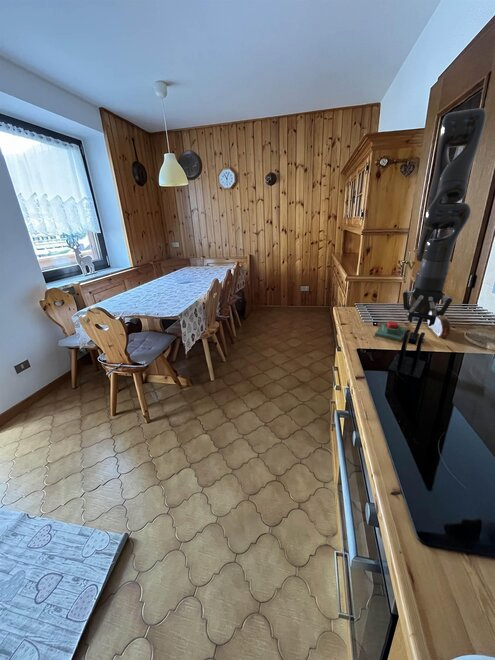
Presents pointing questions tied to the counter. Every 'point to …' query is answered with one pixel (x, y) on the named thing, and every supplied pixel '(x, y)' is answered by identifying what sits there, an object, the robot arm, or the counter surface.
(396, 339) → the button box
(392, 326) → the button
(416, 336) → the lever
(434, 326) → the white and brown slab
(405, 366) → the bracket
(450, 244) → the robot arm
